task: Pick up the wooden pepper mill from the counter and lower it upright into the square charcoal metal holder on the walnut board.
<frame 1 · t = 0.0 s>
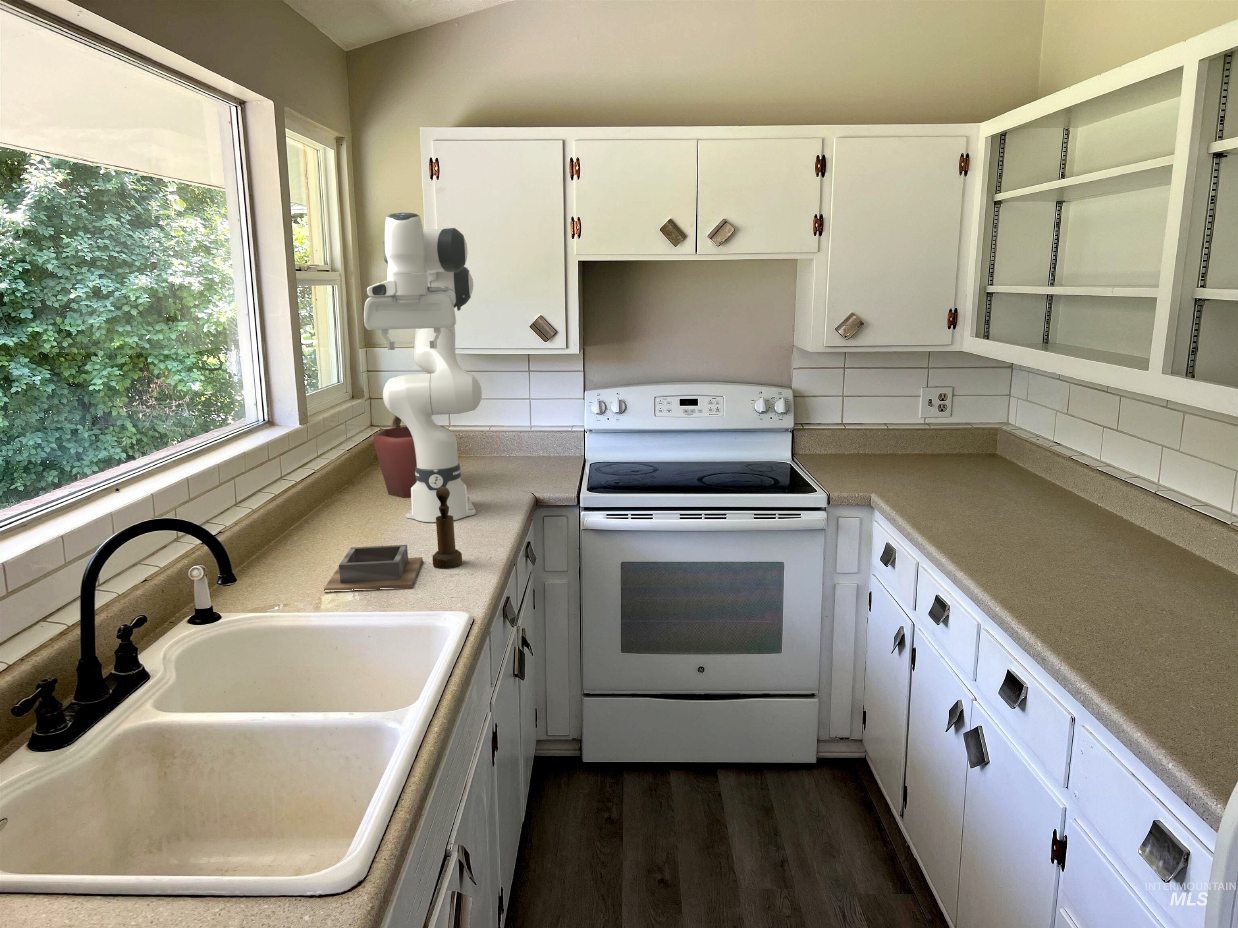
hand: (412, 349, 200), 48 cm above the worktop, tool pointing down, fingers open, 8 cm apart
wooden pepper mill: (447, 564, 200), on the worktop
bucket: (415, 492, 269), on the worktop
holder board: (375, 576, 193), on the worktop
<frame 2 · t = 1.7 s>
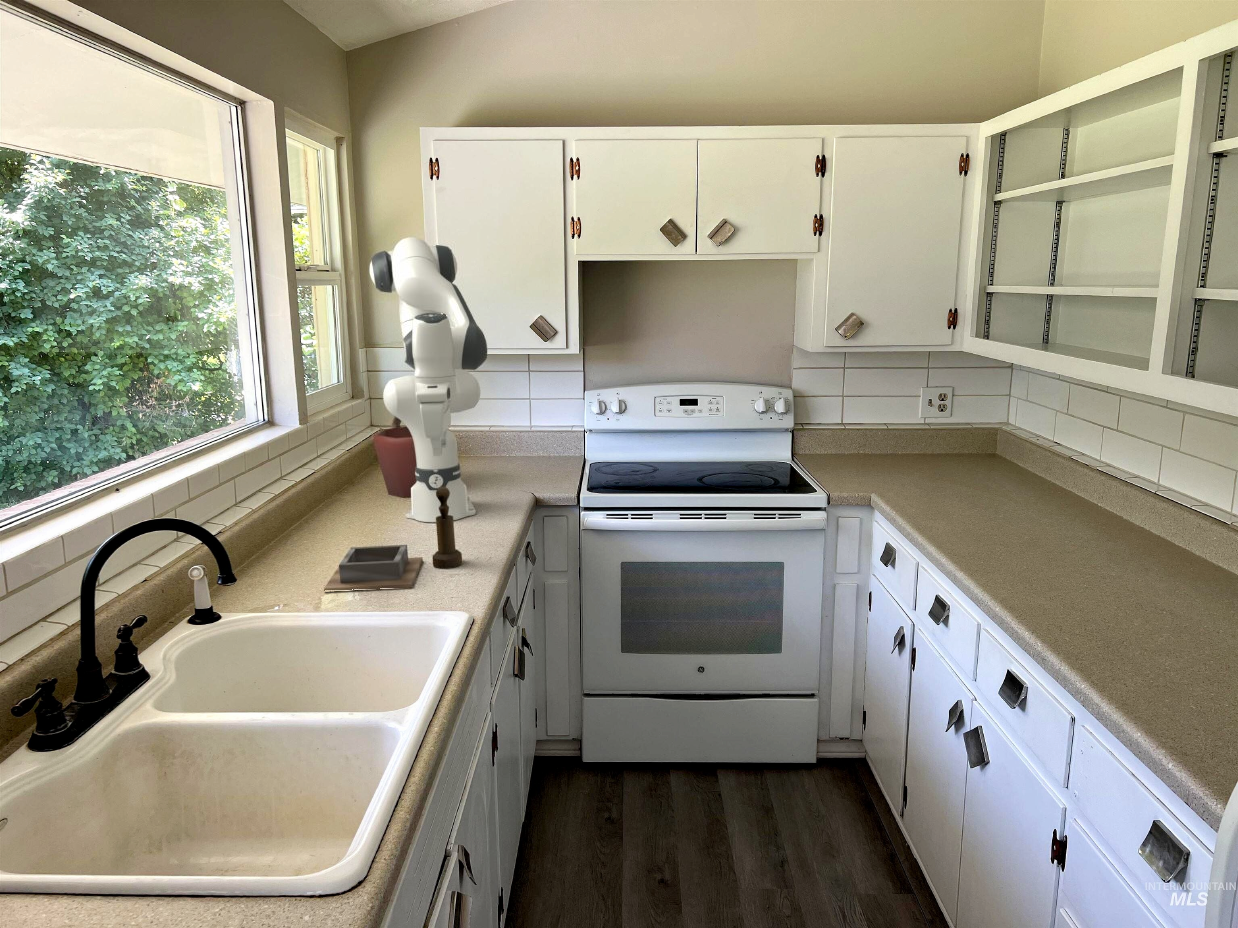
hand: (440, 451, 194), 26 cm above the worktop, tool pointing down, fingers open, 8 cm apart
nothing on the worktop moved.
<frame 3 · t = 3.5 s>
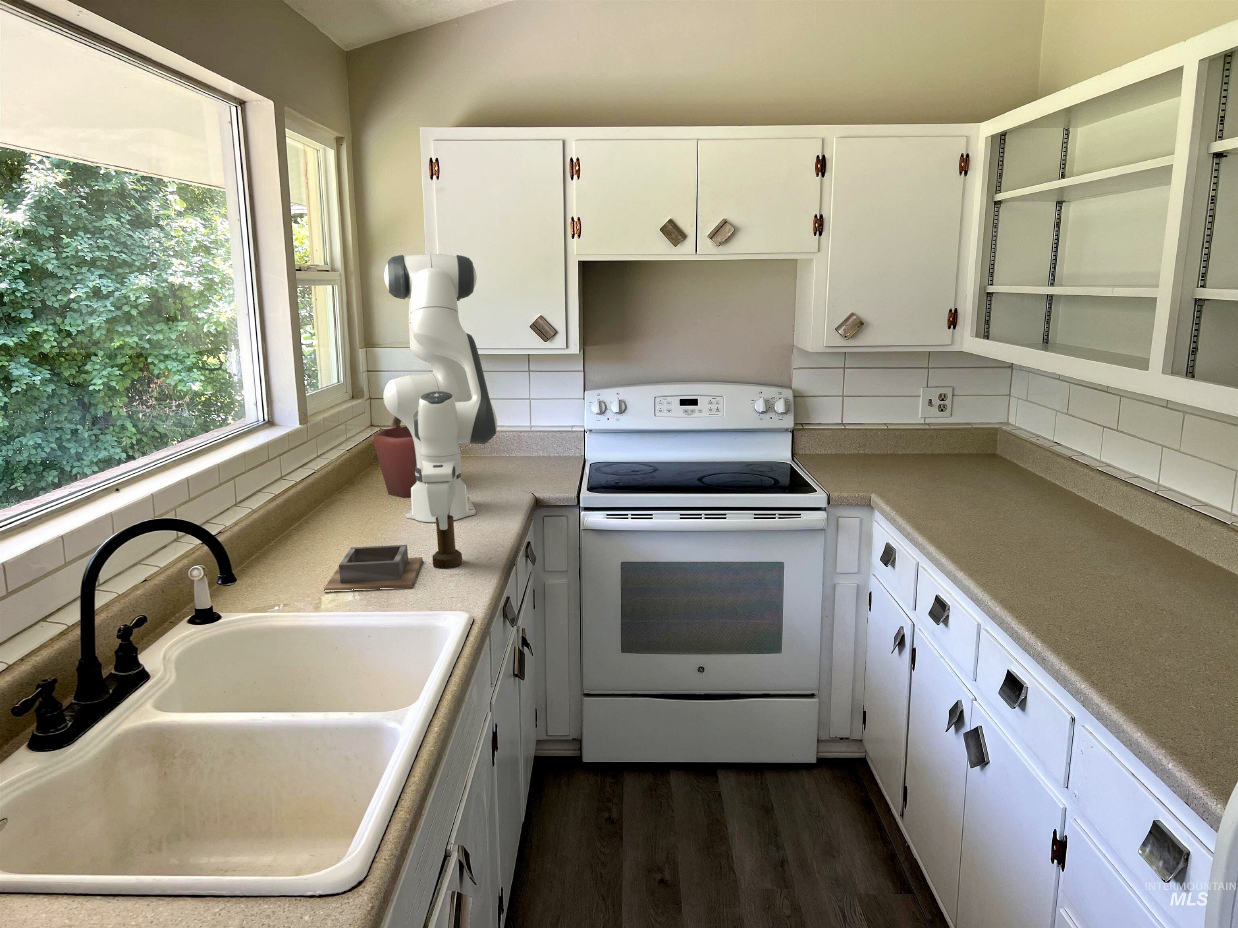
hand: (445, 525, 198), 9 cm above the worktop, tool pointing down, fingers closed on wooden pepper mill, 4 cm apart
wooden pepper mill: (447, 564, 200), on the worktop, touching gripper
everything else where it was.
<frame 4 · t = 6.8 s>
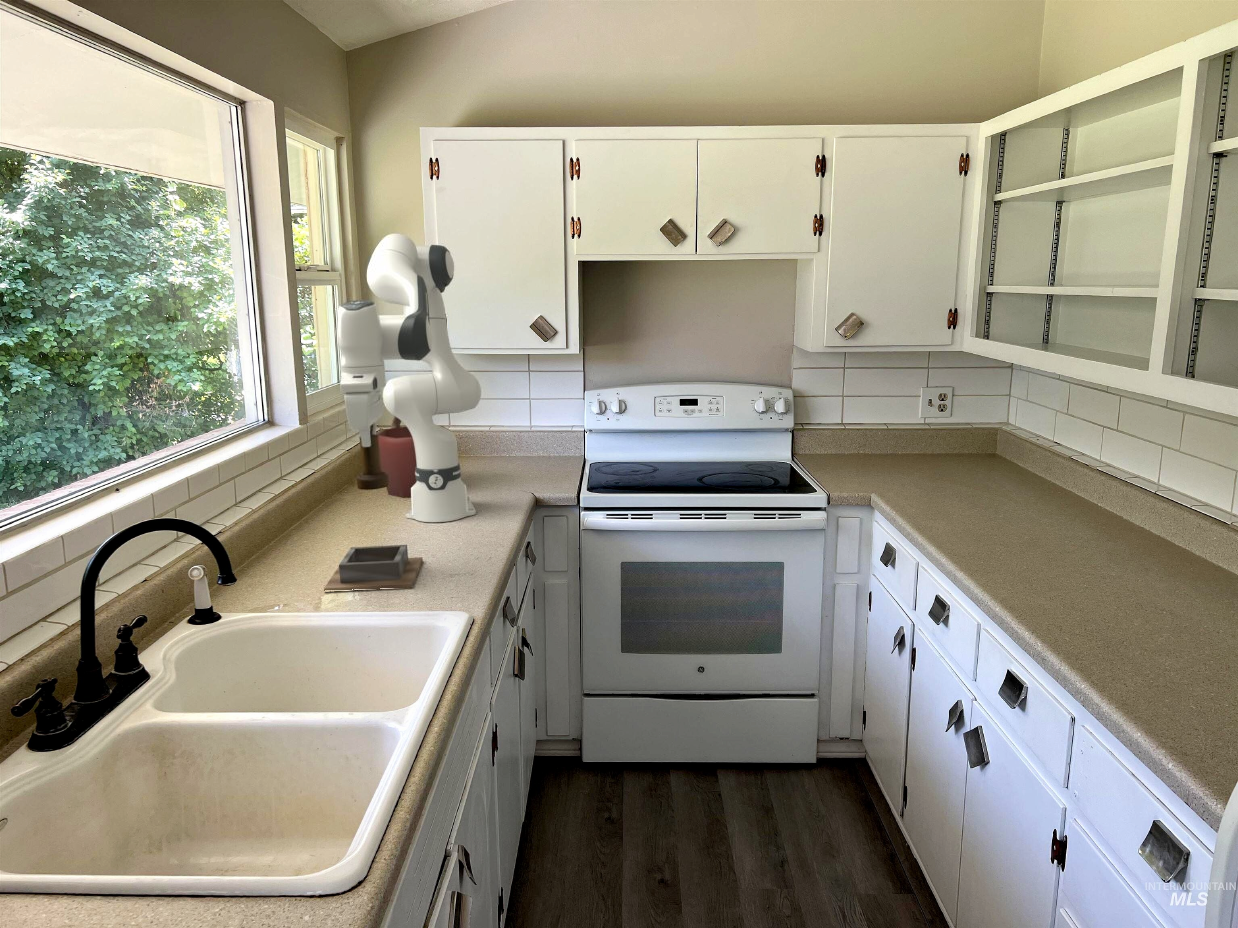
hand: (369, 444, 187), 29 cm above the worktop, tool pointing down, fingers closed on wooden pepper mill, 4 cm apart
wooden pepper mill: (373, 487, 189), point 20 cm above the worktop, touching gripper
everything else where it was.
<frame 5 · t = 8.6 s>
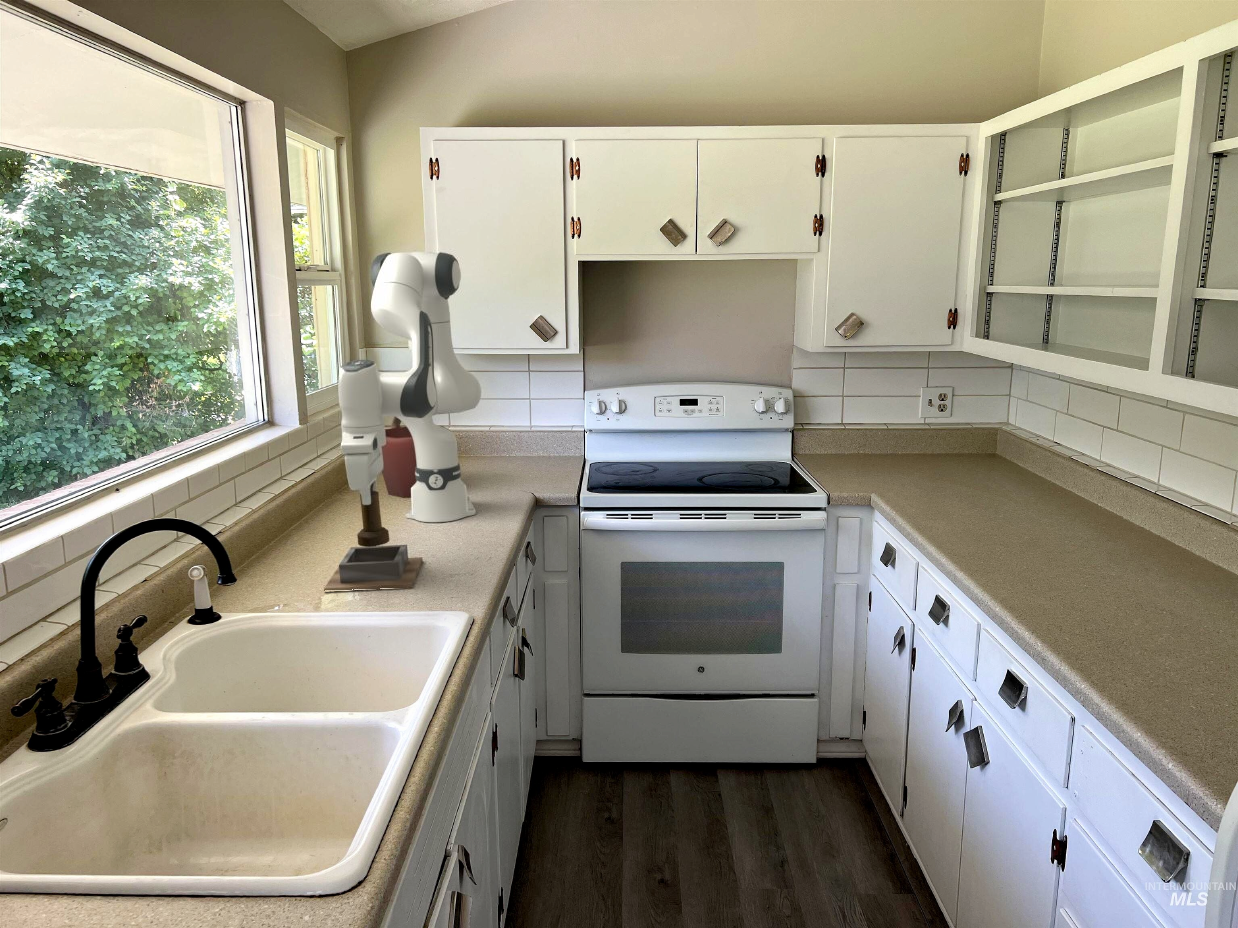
hand: (369, 500, 189), 17 cm above the worktop, tool pointing down, fingers closed on wooden pepper mill, 4 cm apart
wooden pepper mill: (374, 543, 191), point 8 cm above the worktop, touching gripper
everything else where it was.
when the fingers open (12 cm above the worktop, at t = 10.0 s): wooden pepper mill drops 1 cm, resting on holder board.
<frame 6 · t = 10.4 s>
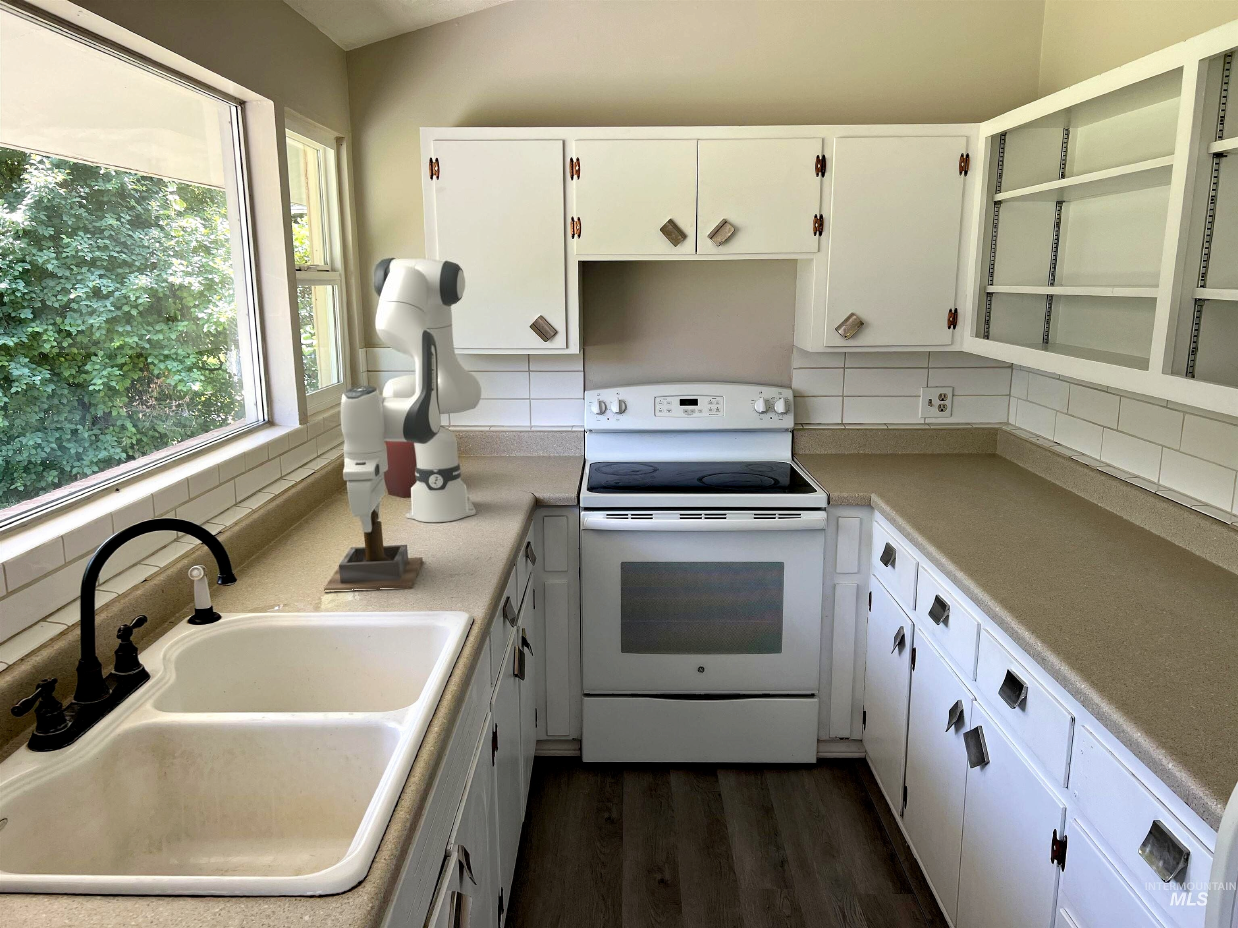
hand: (371, 525, 191), 12 cm above the worktop, tool pointing down, fingers open, 7 cm apart
wooden pepper mill: (376, 572, 193), point 1 cm above the worktop, touching holder board
everything else where it was.
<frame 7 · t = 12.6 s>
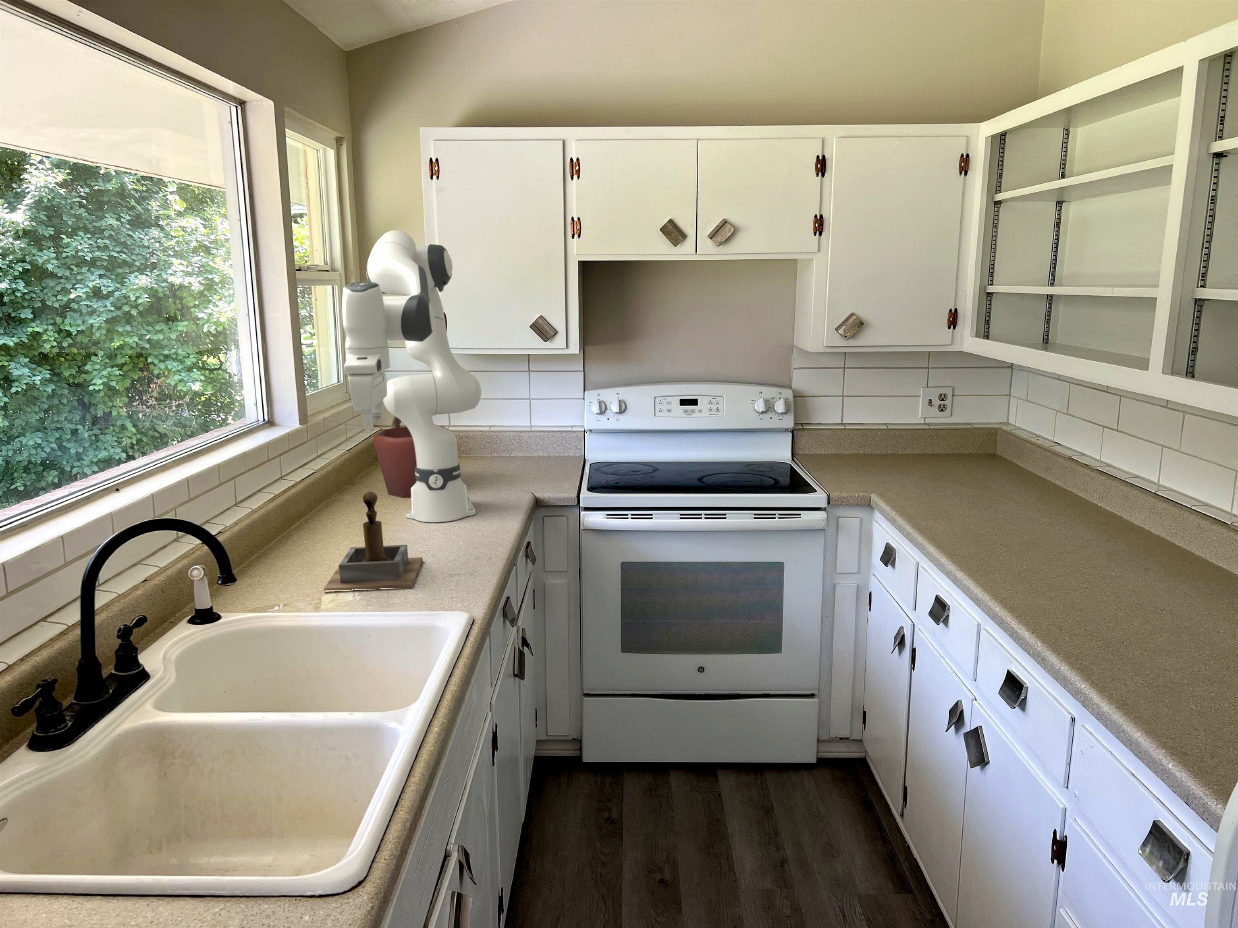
hand: (373, 425, 189), 33 cm above the worktop, tool pointing down, fingers open, 8 cm apart
nothing on the worktop moved.
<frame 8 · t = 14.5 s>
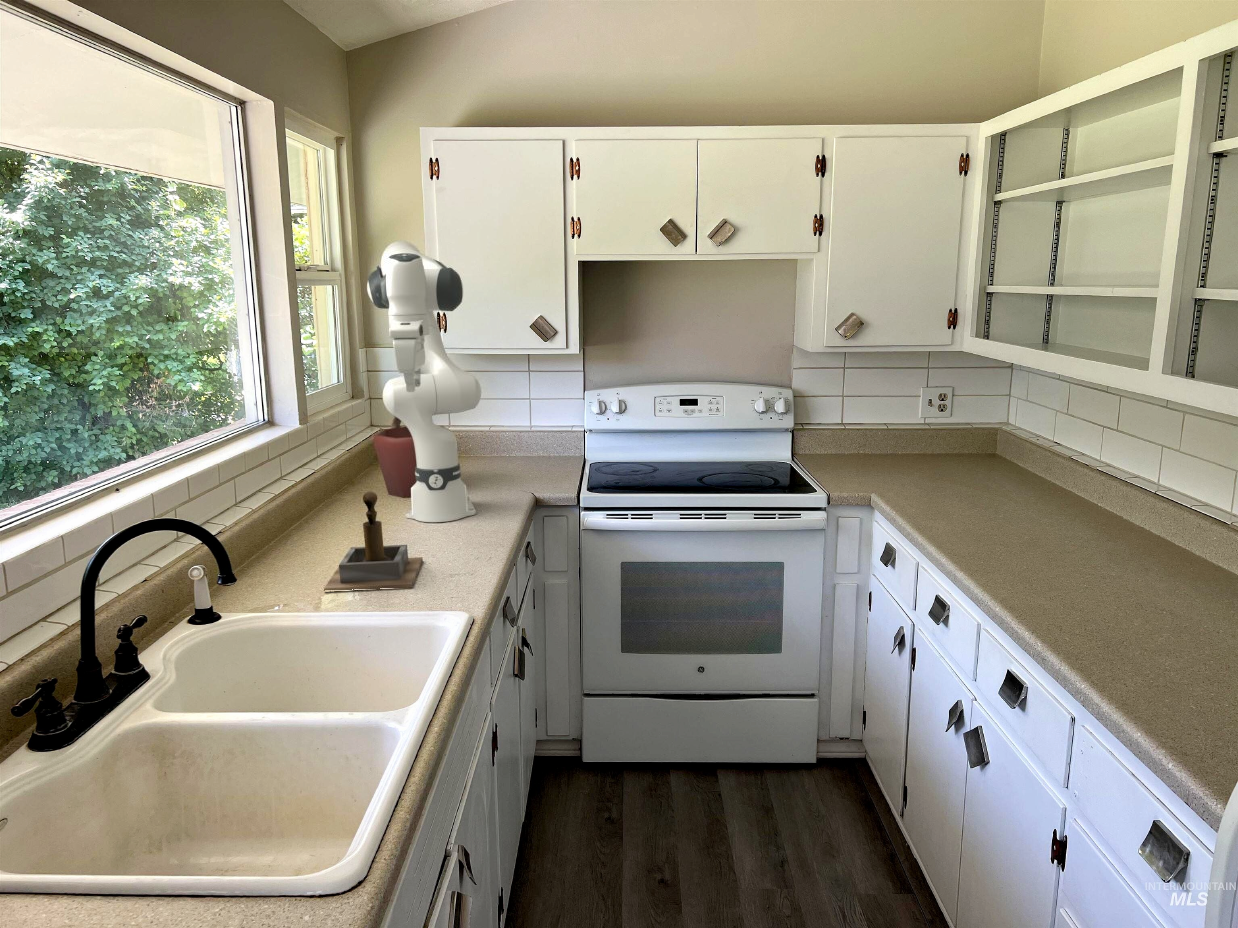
hand: (413, 389, 200), 39 cm above the worktop, tool pointing down, fingers open, 8 cm apart
nothing on the worktop moved.
at the end: wooden pepper mill 0.3 cm off-centre on the holder board, point 0.8 cm above the holder board's base; wooden pepper mill tilted 0°; the gripper is holding nothing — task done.
